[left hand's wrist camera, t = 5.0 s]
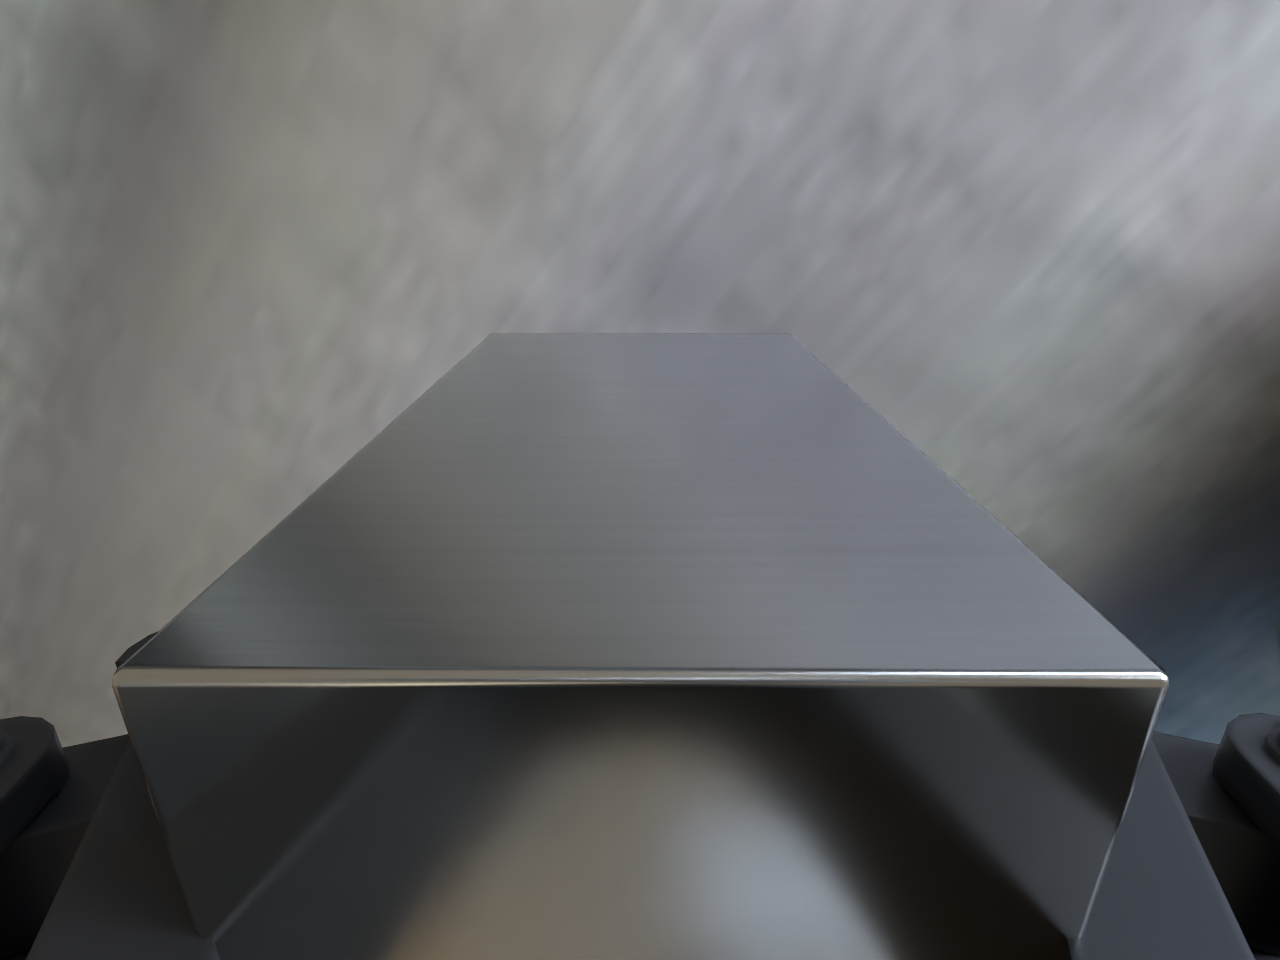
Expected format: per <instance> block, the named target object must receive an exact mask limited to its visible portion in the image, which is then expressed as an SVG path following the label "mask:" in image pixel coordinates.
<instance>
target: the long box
mask: <svg viewBox="0 0 1280 960" xmlns="http://www.w3.org/2000/svg"><path fill="white" fill-rule="evenodd" d="M112 687H113V690H114V693H115V696H116V699H117V702H118V705H119V708H120V711H121V714H122V716H123V719H124V722H125V725H126V728H127V731H128V734H129V737H130V740H131V743H132V746H133V749H134V752H135V755H136V757H137V760H138V763H139V766H140V769H141V772H142V775H143V778H144V781H145V784H146V787H147V790H148V793H149V795H150V798H151V801H152V804H153V807H154V810H155V813H156V816H157V819H158V822H159V825H160V828H161V831H162V834H163V836H164V839H165V842H166V845H167V848H168V851H169V854H170V857H171V860H172V863H173V866H174V869H175V872H176V874H177V877H178V880H179V883H180V886H181V889H182V892H183V895H184V898H185V901H186V904H187V907H188V910H189V913H190V915H191V918H192V921H193V924H194V927H195V930H196V933H197V935H198V936H200V937H202V938H204V939H213V940H214V943H215V946H216V949H217V952H218V955H219V958H220V960H1060V958H1061V955H1062V952H1063V949H1064V946H1065V943H1066V940H1067V938H1078V937H1080V936H1081V935H1083V934H1084V932H1085V930H1086V927H1087V924H1088V921H1089V918H1090V915H1091V912H1092V909H1093V906H1094V903H1095V900H1096V897H1097V895H1098V892H1099V889H1100V886H1101V883H1102V880H1103V877H1104V874H1105V871H1106V868H1107V865H1108V862H1109V859H1110V857H1111V854H1112V851H1113V848H1114V845H1115V842H1116V839H1117V836H1118V833H1119V830H1120V827H1121V824H1122V822H1123V819H1124V816H1125V813H1126V810H1127V807H1128V804H1129V801H1130V798H1131V795H1132V792H1133V789H1134V786H1135V784H1136V781H1137V778H1138V775H1139V772H1140V769H1141V766H1142V763H1143V760H1144V757H1145V754H1146V751H1147V749H1148V746H1149V743H1150V740H1151V737H1152V734H1153V731H1154V728H1155V725H1156V722H1157V719H1158V716H1159V713H1160V711H1161V708H1162V705H1163V702H1164V699H1165V696H1166V693H1167V690H1168V687H1169V681H1168V676H1167V674H1166V672H1165V670H1164V669H1163V668H1162V667H1161V666H1160V665H1159V664H1157V663H1156V662H1155V661H1154V660H1153V659H1152V658H1151V657H1150V656H1149V655H1147V654H1146V653H1145V652H1144V651H1143V650H1142V649H1141V648H1140V647H1139V646H1137V645H1136V644H1135V643H1134V642H1133V641H1132V640H1131V639H1130V638H1129V637H1127V636H1126V635H1125V634H1124V633H1123V632H1122V631H1121V630H1120V629H1118V628H1117V627H1116V626H1115V625H1114V624H1113V623H1112V622H1111V621H1110V620H1108V619H1107V618H1106V617H1105V616H1104V615H1103V614H1102V613H1101V612H1100V611H1098V610H1097V609H1096V608H1095V607H1094V606H1093V605H1092V604H1091V603H1090V602H1088V601H1087V600H1086V599H1085V598H1084V597H1083V596H1082V595H1081V594H1080V593H1078V592H1077V591H1076V590H1075V589H1074V588H1073V587H1072V586H1071V585H1069V584H1068V583H1067V582H1066V581H1065V580H1064V579H1063V578H1062V577H1061V576H1059V575H1058V574H1057V573H1056V572H1055V571H1054V570H1053V569H1052V568H1051V567H1049V566H1048V565H1047V564H1046V563H1045V562H1044V561H1043V560H1042V559H1041V558H1039V557H1038V556H1037V555H1036V554H1035V553H1034V552H1033V551H1032V550H1030V549H1029V548H1028V547H1027V546H1026V545H1025V544H1024V543H1023V542H1022V541H1020V540H1019V539H1018V538H1017V537H1016V536H1015V535H1014V534H1013V533H1012V532H1010V531H1009V530H1008V529H1007V528H1006V527H1005V526H1004V525H1003V524H1002V523H1000V522H999V521H998V520H997V519H996V518H995V517H994V516H993V515H991V514H990V513H989V512H988V511H987V510H986V509H985V508H984V507H983V506H981V505H980V504H979V503H978V502H977V501H976V500H975V499H974V498H973V497H971V496H970V495H969V494H968V493H967V492H966V491H965V490H964V489H963V488H961V487H960V486H959V485H958V484H957V483H956V482H955V481H954V480H953V479H951V478H950V477H949V476H948V475H947V474H946V473H945V472H944V471H942V470H941V469H940V468H939V467H938V466H937V465H936V464H935V463H934V462H932V461H931V460H930V459H929V458H928V457H927V456H926V455H925V454H924V453H922V452H921V451H920V450H919V449H918V448H917V447H916V446H915V445H914V444H912V443H911V442H910V441H909V440H908V439H907V438H906V437H905V436H903V435H902V434H901V433H900V432H899V431H898V430H897V429H896V428H895V427H893V426H892V425H891V424H890V423H889V422H888V421H887V420H886V419H885V418H883V417H882V416H881V415H880V414H879V413H878V412H877V411H876V410H875V409H873V408H872V407H871V406H870V405H869V404H868V403H867V402H866V401H864V400H863V399H862V398H861V397H860V396H859V395H858V394H857V393H856V392H854V391H853V390H852V389H851V388H850V387H849V386H848V385H847V384H846V383H844V382H843V381H842V380H841V379H840V378H839V377H838V376H837V375H836V374H834V373H833V372H832V371H831V370H830V369H829V368H828V367H827V366H826V365H824V364H823V363H822V362H821V361H820V360H819V359H818V358H817V357H815V356H814V355H813V354H812V353H811V352H810V351H809V350H808V349H807V348H805V347H804V346H803V345H802V344H801V343H800V342H799V341H798V340H797V339H795V338H794V337H793V336H792V335H791V334H788V333H492V334H490V335H488V336H487V337H486V338H485V339H484V340H483V341H482V342H481V343H480V344H478V345H477V346H476V347H475V348H474V349H473V350H472V351H471V352H470V353H468V354H467V355H466V356H465V357H464V358H463V359H462V360H461V361H459V362H458V363H457V364H456V365H455V366H454V367H453V368H452V369H451V370H449V371H448V372H447V373H446V374H445V375H444V376H443V377H442V378H441V379H439V380H438V381H437V382H436V383H435V384H434V385H433V386H432V387H431V388H429V389H428V390H427V391H426V392H425V393H424V394H423V395H422V396H421V397H419V398H418V399H417V400H416V401H415V402H414V403H413V404H412V405H410V406H409V407H408V408H407V409H406V410H405V411H404V412H403V413H402V414H400V415H399V416H398V417H397V418H396V419H395V420H394V421H393V422H392V423H390V424H389V425H388V426H387V427H386V428H385V429H384V430H383V431H382V432H380V433H379V434H378V435H377V436H376V437H375V438H374V439H373V440H372V441H370V442H369V443H368V444H367V445H366V446H365V447H364V448H363V449H361V450H360V451H359V452H358V453H357V454H356V455H355V456H354V457H353V458H351V459H350V460H349V461H348V462H347V463H346V464H345V465H344V466H343V467H341V468H340V469H339V470H338V471H337V472H336V473H335V474H334V475H333V476H331V477H330V478H329V479H328V480H327V481H326V482H325V483H324V484H323V485H321V486H320V487H319V488H318V489H317V490H316V491H315V492H314V493H313V494H311V495H310V496H309V497H308V498H307V499H306V500H305V501H304V502H302V503H301V504H300V505H299V506H298V507H297V508H296V509H295V510H294V511H292V512H291V513H290V514H289V515H288V516H287V517H286V518H285V519H284V520H282V521H281V522H280V523H279V524H278V525H277V526H276V527H275V528H274V529H272V530H271V531H270V532H269V533H268V534H267V535H266V536H265V537H264V538H262V539H261V540H260V541H259V542H258V543H257V544H256V545H255V546H253V547H252V548H251V549H250V550H249V551H248V552H247V553H246V554H245V555H243V556H242V557H241V558H240V559H239V560H238V561H237V562H236V563H235V564H233V565H232V566H231V567H230V568H229V569H228V570H227V571H226V572H225V573H223V574H222V575H221V576H220V577H219V578H218V579H217V580H216V581H215V582H213V583H212V584H211V585H210V586H209V587H208V588H207V589H206V590H204V591H203V592H202V593H201V594H200V595H199V596H198V597H197V598H196V599H194V600H193V601H192V602H191V603H190V604H189V605H188V606H187V607H186V608H184V609H183V610H182V611H181V612H180V613H179V614H178V615H177V616H176V617H174V618H173V619H172V620H171V621H170V622H169V623H168V624H167V625H166V626H164V627H163V628H162V629H161V630H160V631H159V632H158V633H157V634H156V635H154V636H153V637H152V638H151V639H150V640H149V641H148V642H147V643H145V644H144V645H143V646H142V647H141V648H140V649H139V650H138V651H137V652H135V653H134V654H133V655H132V656H131V657H130V658H129V659H128V660H127V661H125V662H124V663H123V664H122V665H121V666H120V667H119V668H118V669H117V670H116V671H115V673H114V675H113V680H112Z"/></svg>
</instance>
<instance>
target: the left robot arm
mask: <svg viewBox="0 0 1280 960" xmlns="http://www.w3.org/2000/svg"><path fill="white" fill-rule="evenodd" d="M158 632H159V631H158ZM158 632H156V633H153V634H151V635H149V636H147V637H145V638H144V639H142V640H141V641H139V642H137V643H136V644H134V645H133V646H131V647H130V648H128V649H127V650H126V651H125V652H124V654H123V655H122V656H121V657H120V658H119V659H118V660H117V661H116V662H115V663H116V666H117V669H118V668H119V667H120V666H121V665H122V664H123V663H124V662H125V661H127V660H128V659H129V658H130V657H131V656H132V655H133V654H134V653H135V652H137V651H138V650H139V649H140V648H141V647H142V646H143V645H144V644H145V643H147V642H148V641H149V640H150V639H151V638H152V637H153V636H154V635H156V634H157V633H158ZM0 960H220V958H219V955H218V952H217V949H216V946H215V943H214V940H213V939H204V938H202V937H200V936H198V935H197V933H196V930H195V927H194V924H193V921H192V918H191V915H190V913H189V910H188V907H187V904H186V901H185V898H184V895H183V892H182V889H181V886H180V883H179V880H178V877H177V874H176V872H175V869H174V866H173V863H172V860H171V857H170V854H169V851H168V848H167V845H166V842H165V839H164V836H163V834H162V831H161V828H160V825H159V822H158V819H157V816H156V813H155V810H154V807H153V804H152V801H151V798H150V795H149V793H148V790H147V787H146V784H145V781H144V778H143V775H142V772H141V769H140V766H139V763H138V760H137V757H136V755H135V752H134V749H133V746H132V743H131V740H130V737H129V734H126V735H122V736H117V737H113V738H108V739H103V740H98V741H93V742H88V743H84V744H79V745H74V746H69V747H64V748H62V746H61V744H60V741H59V739H58V736H57V733H56V731H55V728H54V726H53V725H52V724H50V723H49V722H47V721H46V720H44V719H43V718H37V717H25V716H19V717H13V718H7V719H1V720H0ZM1060 960H1280V716H1275V715H1269V714H1263V713H1257V714H1244V715H1239V716H1238V717H1236V718H1235V719H1233V720H1232V721H1230V722H1229V723H1228V725H1227V728H1226V730H1225V733H1224V735H1223V738H1222V740H1221V743H1220V745H1217V744H1212V743H1207V742H1202V741H1197V740H1192V739H1188V738H1183V737H1178V736H1173V735H1168V734H1163V733H1158V732H1155V731H1153V734H1152V737H1151V740H1150V743H1149V746H1148V749H1147V751H1146V754H1145V757H1144V760H1143V763H1142V766H1141V769H1140V772H1139V775H1138V778H1137V781H1136V784H1135V786H1134V789H1133V792H1132V795H1131V798H1130V801H1129V804H1128V807H1127V810H1126V813H1125V816H1124V819H1123V822H1122V824H1121V827H1120V830H1119V833H1118V836H1117V839H1116V842H1115V845H1114V848H1113V851H1112V854H1111V857H1110V859H1109V862H1108V865H1107V868H1106V871H1105V874H1104V877H1103V880H1102V883H1101V886H1100V889H1099V892H1098V895H1097V897H1096V900H1095V903H1094V906H1093V909H1092V912H1091V915H1090V918H1089V921H1088V924H1087V927H1086V930H1085V932H1084V934H1083V935H1081V936H1080V937H1078V938H1067V940H1066V943H1065V946H1064V949H1063V952H1062V955H1061V958H1060Z"/></svg>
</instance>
